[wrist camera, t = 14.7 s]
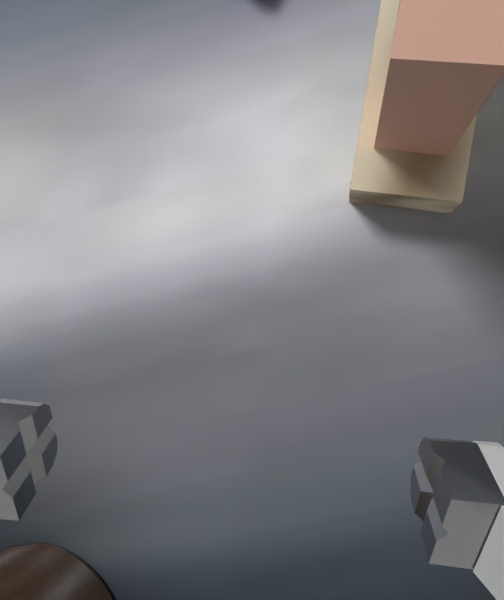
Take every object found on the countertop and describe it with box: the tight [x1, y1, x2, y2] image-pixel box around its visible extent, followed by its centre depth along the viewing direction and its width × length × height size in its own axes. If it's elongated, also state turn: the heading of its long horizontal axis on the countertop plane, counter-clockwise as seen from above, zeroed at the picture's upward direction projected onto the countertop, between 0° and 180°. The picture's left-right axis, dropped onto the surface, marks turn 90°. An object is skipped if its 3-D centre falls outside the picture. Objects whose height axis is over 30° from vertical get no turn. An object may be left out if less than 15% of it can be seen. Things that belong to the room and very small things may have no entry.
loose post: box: [374, 0, 504, 156], centre depth 20 cm, size 4×4×9 cm
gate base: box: [349, 0, 477, 214], centre depth 22 cm, size 6×14×12 cm, turn 170°
